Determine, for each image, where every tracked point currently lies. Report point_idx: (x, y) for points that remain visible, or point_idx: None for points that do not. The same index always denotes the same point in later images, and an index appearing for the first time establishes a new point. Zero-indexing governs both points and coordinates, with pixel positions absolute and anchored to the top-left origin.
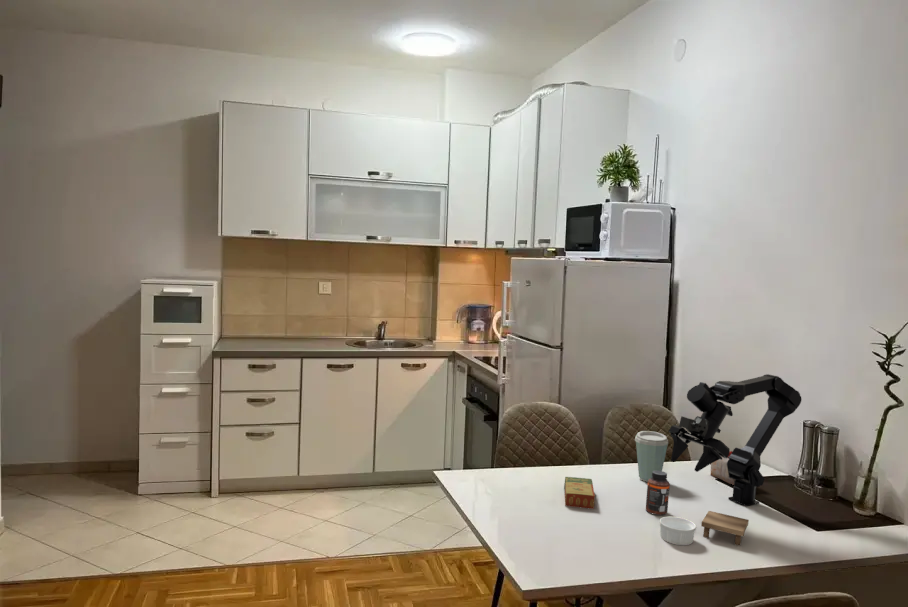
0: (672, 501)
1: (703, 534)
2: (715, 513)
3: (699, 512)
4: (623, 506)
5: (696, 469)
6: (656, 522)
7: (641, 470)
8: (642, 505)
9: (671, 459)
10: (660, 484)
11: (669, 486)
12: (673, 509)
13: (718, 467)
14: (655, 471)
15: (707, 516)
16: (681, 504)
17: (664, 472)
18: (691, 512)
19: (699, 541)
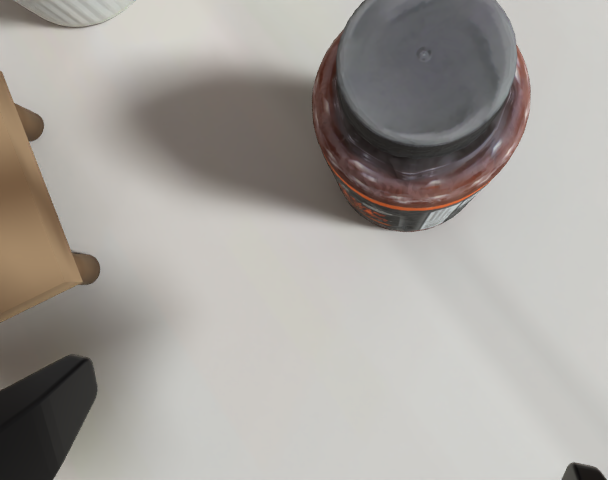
0: (501, 453)
1: (34, 113)
2: (15, 277)
3: (268, 435)
4: (580, 28)
5: (59, 369)
6: (284, 25)
7: None
8: (537, 170)
9: (590, 472)
10: (341, 32)
11: (327, 161)
12: (385, 314)
13: None
14: (480, 38)
15: (10, 173)
16: (427, 460)
17: (401, 121)
18: (293, 382)
19: (15, 41)
